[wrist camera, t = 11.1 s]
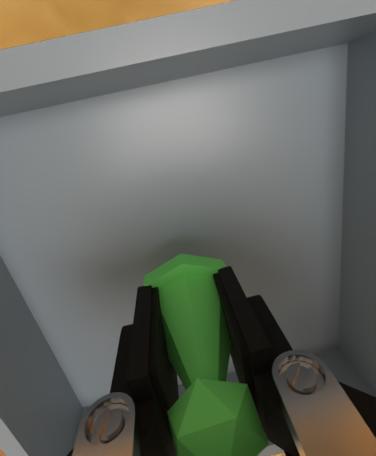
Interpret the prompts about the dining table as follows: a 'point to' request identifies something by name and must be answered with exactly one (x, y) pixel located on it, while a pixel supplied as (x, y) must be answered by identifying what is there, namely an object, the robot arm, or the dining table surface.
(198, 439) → the game piece
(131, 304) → the bin
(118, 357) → the robot arm
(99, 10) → the dining table surface
